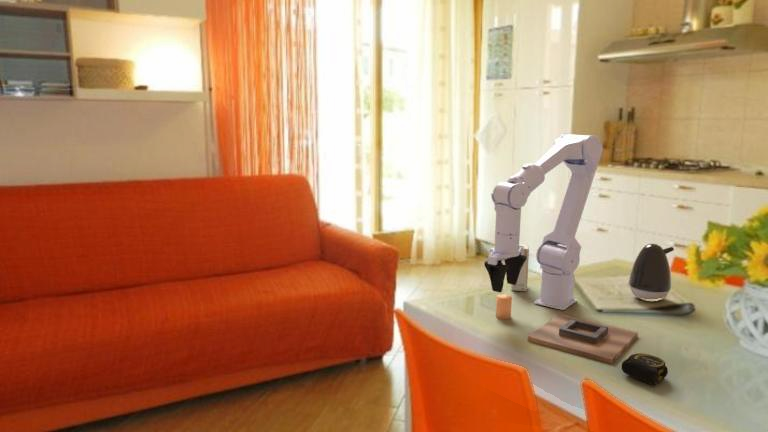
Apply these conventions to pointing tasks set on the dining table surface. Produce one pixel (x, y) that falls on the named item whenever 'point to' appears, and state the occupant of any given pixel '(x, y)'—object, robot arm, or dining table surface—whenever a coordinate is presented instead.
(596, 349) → the socket
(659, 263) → the pump dispenser
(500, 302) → the peg
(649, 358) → the tape measure
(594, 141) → the robot arm
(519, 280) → the skincare box
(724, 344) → the dining table surface
